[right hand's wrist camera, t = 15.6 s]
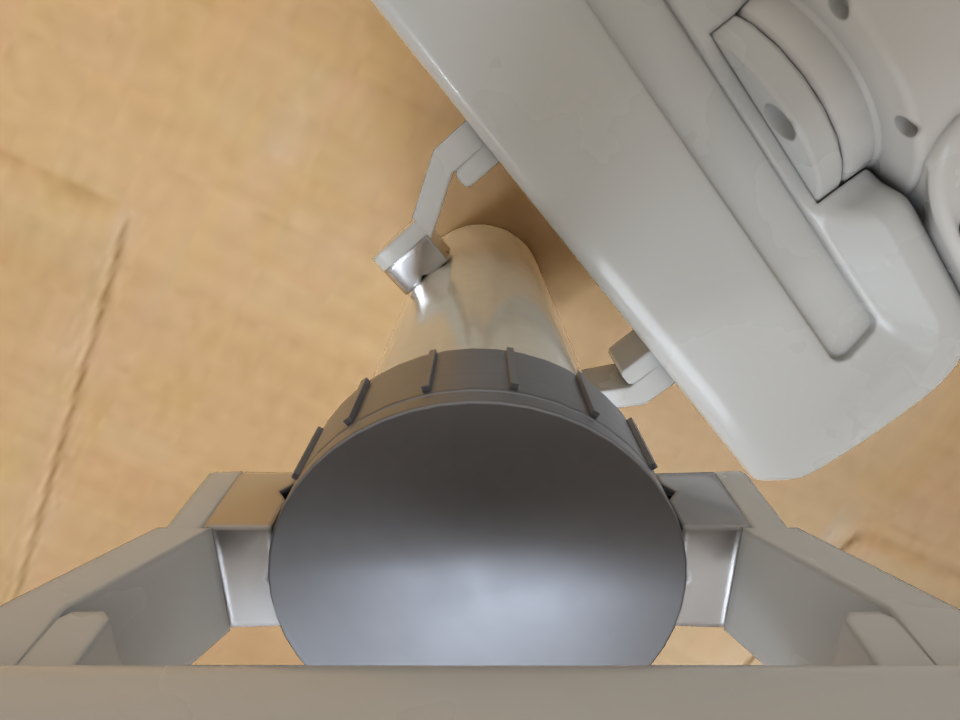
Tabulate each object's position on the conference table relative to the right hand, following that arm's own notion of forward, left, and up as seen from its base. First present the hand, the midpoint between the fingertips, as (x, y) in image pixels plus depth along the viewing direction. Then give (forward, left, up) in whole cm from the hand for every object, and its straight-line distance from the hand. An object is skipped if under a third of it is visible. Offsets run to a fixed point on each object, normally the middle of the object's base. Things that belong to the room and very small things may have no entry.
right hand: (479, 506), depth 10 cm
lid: (0, 0, +2) cm, 2 cm away
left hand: (-1, -1, -10) cm, 10 cm away
